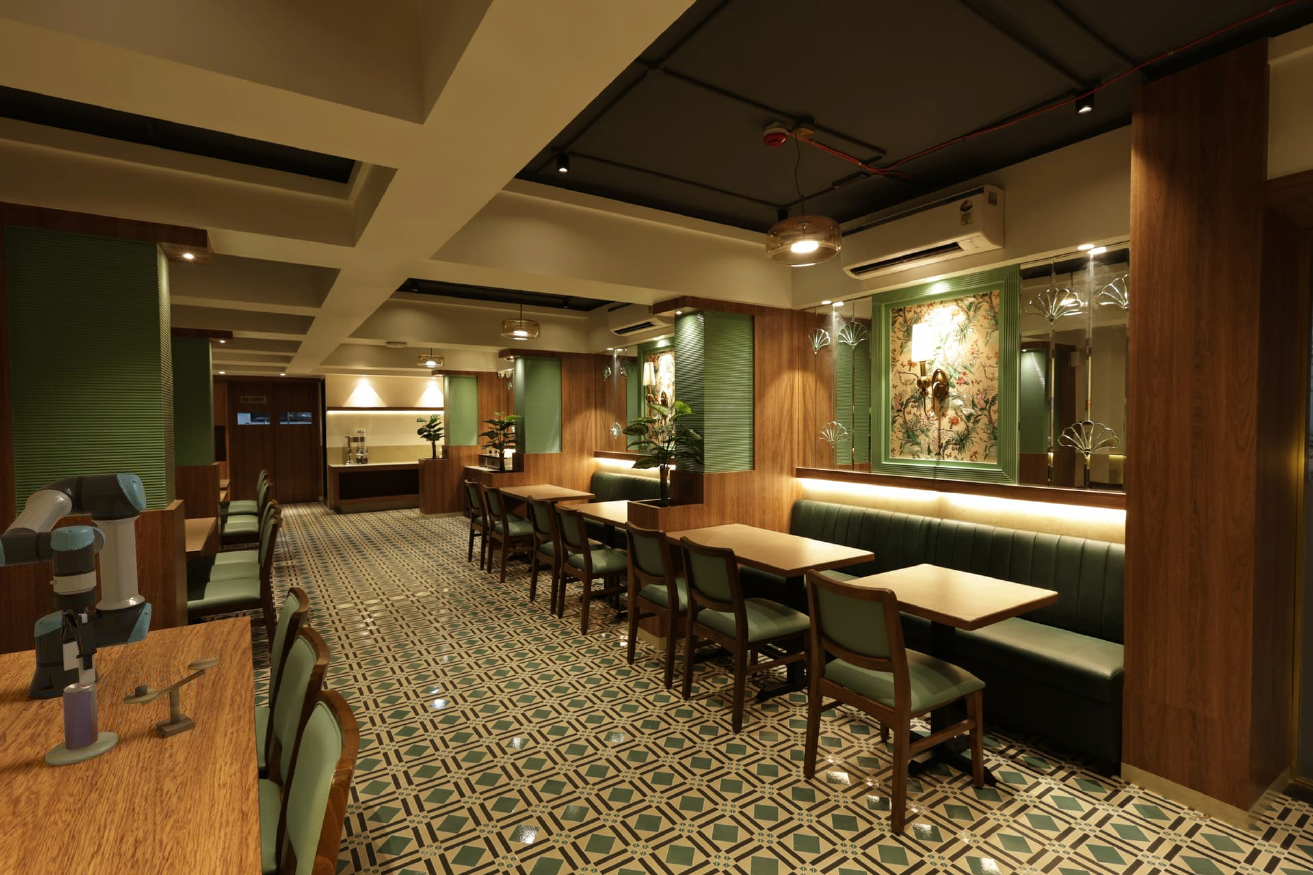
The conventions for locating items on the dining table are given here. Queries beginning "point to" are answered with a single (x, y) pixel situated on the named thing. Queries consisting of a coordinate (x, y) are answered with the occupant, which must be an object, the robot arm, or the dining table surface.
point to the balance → (171, 699)
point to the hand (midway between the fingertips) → (79, 675)
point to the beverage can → (80, 716)
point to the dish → (81, 751)
